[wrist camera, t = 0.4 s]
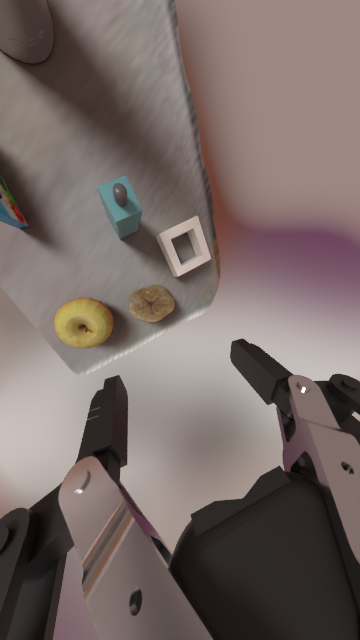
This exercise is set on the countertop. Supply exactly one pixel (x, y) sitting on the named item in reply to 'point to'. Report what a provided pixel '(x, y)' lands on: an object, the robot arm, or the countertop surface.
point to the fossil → (151, 303)
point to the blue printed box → (10, 208)
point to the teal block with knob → (121, 205)
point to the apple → (84, 323)
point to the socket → (196, 240)
